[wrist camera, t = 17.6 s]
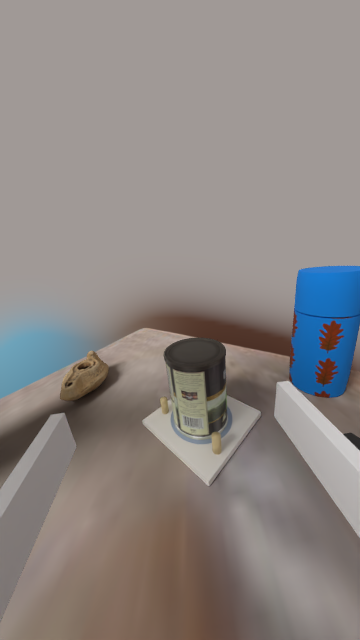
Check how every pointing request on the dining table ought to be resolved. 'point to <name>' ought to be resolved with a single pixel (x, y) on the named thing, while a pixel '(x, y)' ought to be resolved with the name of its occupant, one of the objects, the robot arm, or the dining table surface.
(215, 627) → the dining table surface
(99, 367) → the oil lamp
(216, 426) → the coffee can
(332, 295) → the thermos
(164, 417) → the pin jig
